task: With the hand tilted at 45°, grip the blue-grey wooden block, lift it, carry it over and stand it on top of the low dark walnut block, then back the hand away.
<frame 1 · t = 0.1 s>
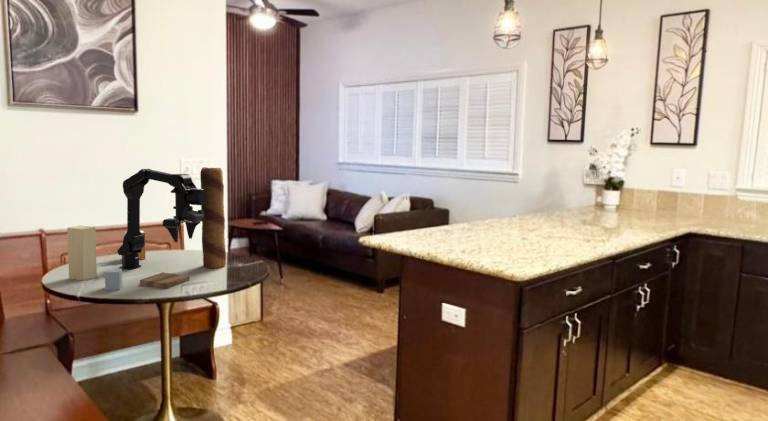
hand: (183, 240, 228), 15 cm above the table, tool pointing down, fingers open, 9 cm apart
small box: (135, 259, 254), on the table
blue-grey block: (114, 288, 206), on the table
wafer roll: (213, 266, 245), on the table
walnut block: (165, 282, 216), on the table
tall beige block: (84, 278, 219), on the table
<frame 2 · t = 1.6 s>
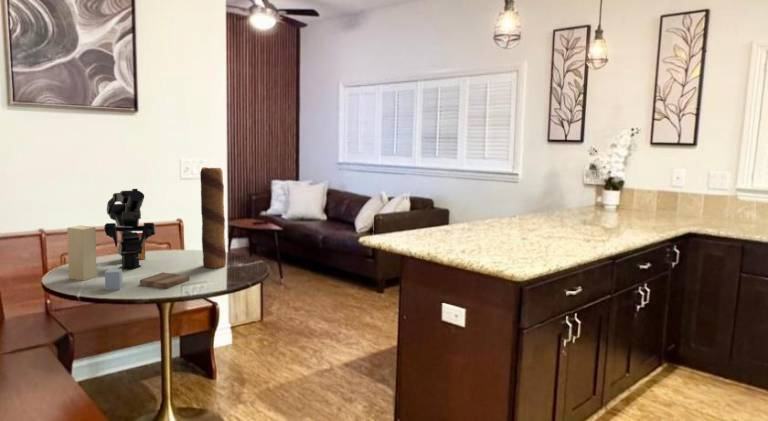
hand: (128, 246, 218), 14 cm above the table, tool tilted 45°, fingers open, 9 cm apart
nothing on the table moved.
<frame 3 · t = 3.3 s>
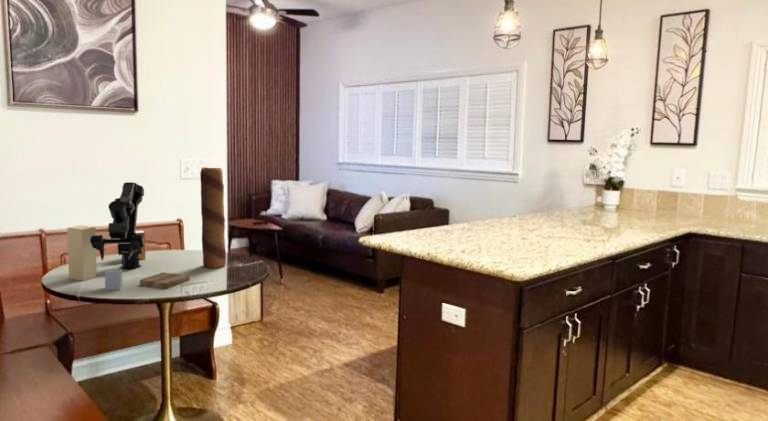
hand: (115, 259, 208), 11 cm above the table, tool tilted 45°, fingers open, 9 cm apart
nothing on the table moved.
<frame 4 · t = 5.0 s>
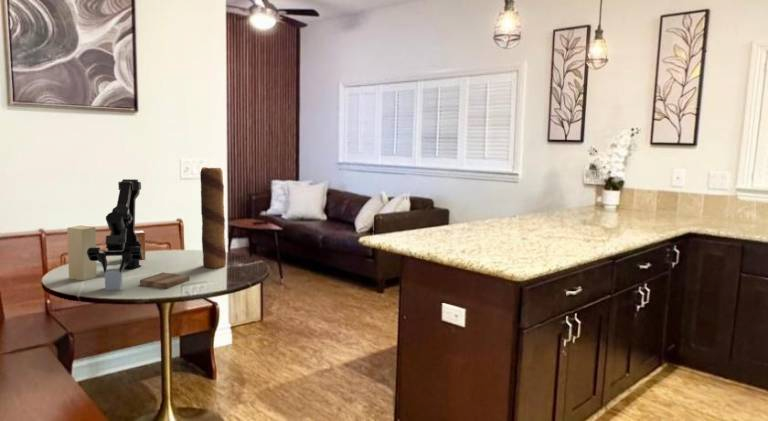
hand: (112, 272, 204), 7 cm above the table, tool tilted 45°, fingers closed on blue-grey block, 5 cm apart
blue-grey block: (114, 288, 206), on the table, touching gripper
everything else where it was.
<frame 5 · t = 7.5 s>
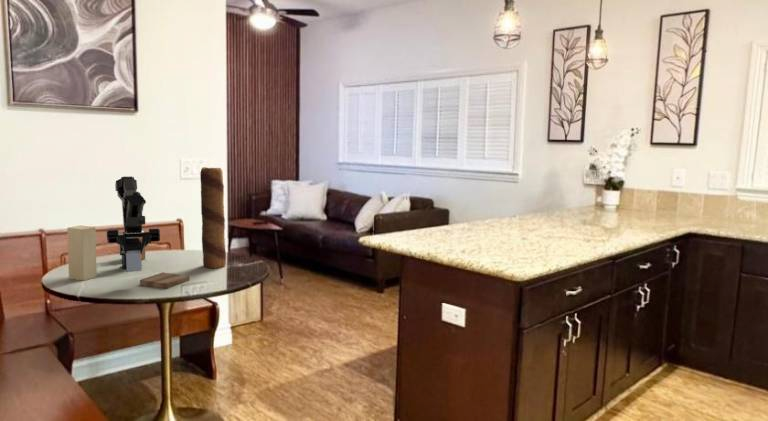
hand: (133, 253, 206), 13 cm above the table, tool tilted 45°, fingers closed on blue-grey block, 5 cm apart
blue-grey block: (134, 269, 208), point 7 cm above the table, touching gripper
everything else where it was.
when the fingers open (9 cm above the table, at t = 9.8 s): blue-grey block stays where it is, resting on walnut block.
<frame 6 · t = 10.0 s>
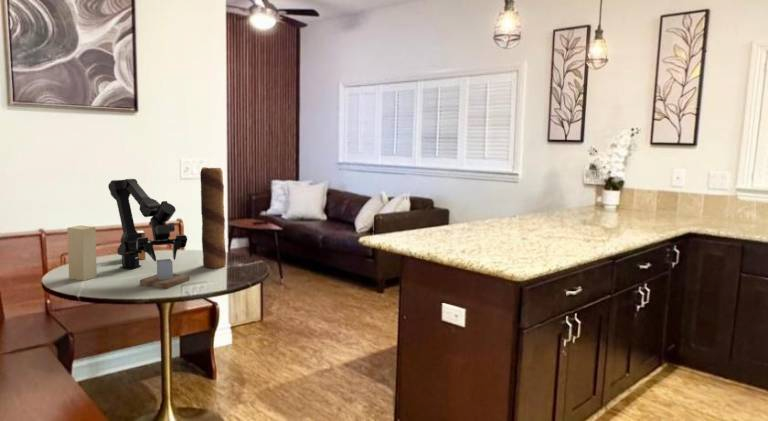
hand: (165, 260, 213), 10 cm above the table, tool tilted 45°, fingers open, 7 cm apart
blue-grey block: (164, 277, 216), point 2 cm above the table, touching walnut block
everything else where it was.
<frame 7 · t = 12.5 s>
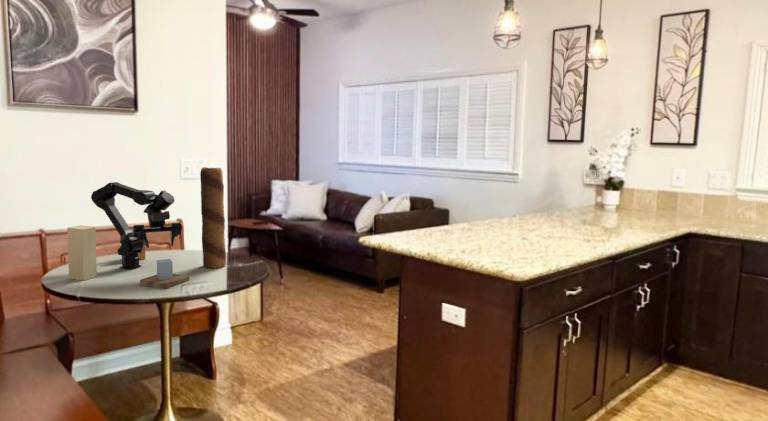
hand: (160, 246, 220), 13 cm above the table, tool tilted 45°, fingers open, 9 cm apart
nothing on the table moved.
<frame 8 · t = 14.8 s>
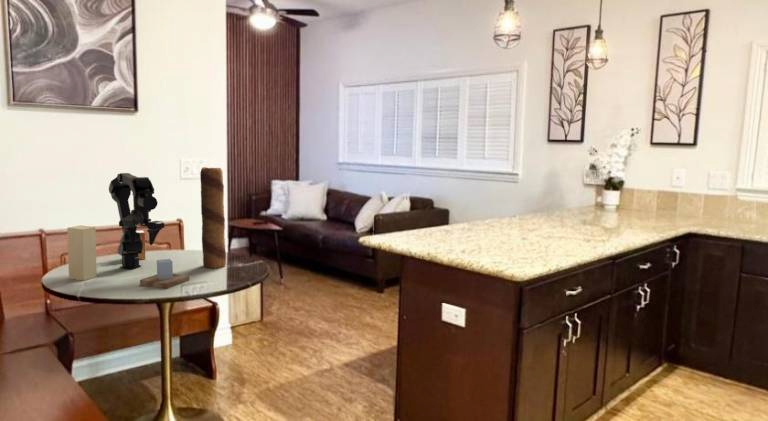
hand: (142, 244, 226), 13 cm above the table, tool pointing down, fingers open, 9 cm apart
nothing on the table moved.
at the end: blue-grey block inside the target area on the walnut block (0.0 cm from its centre), point 2.0 cm above the walnut block's base; blue-grey block tilted 0°; the gripper is holding nothing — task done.
